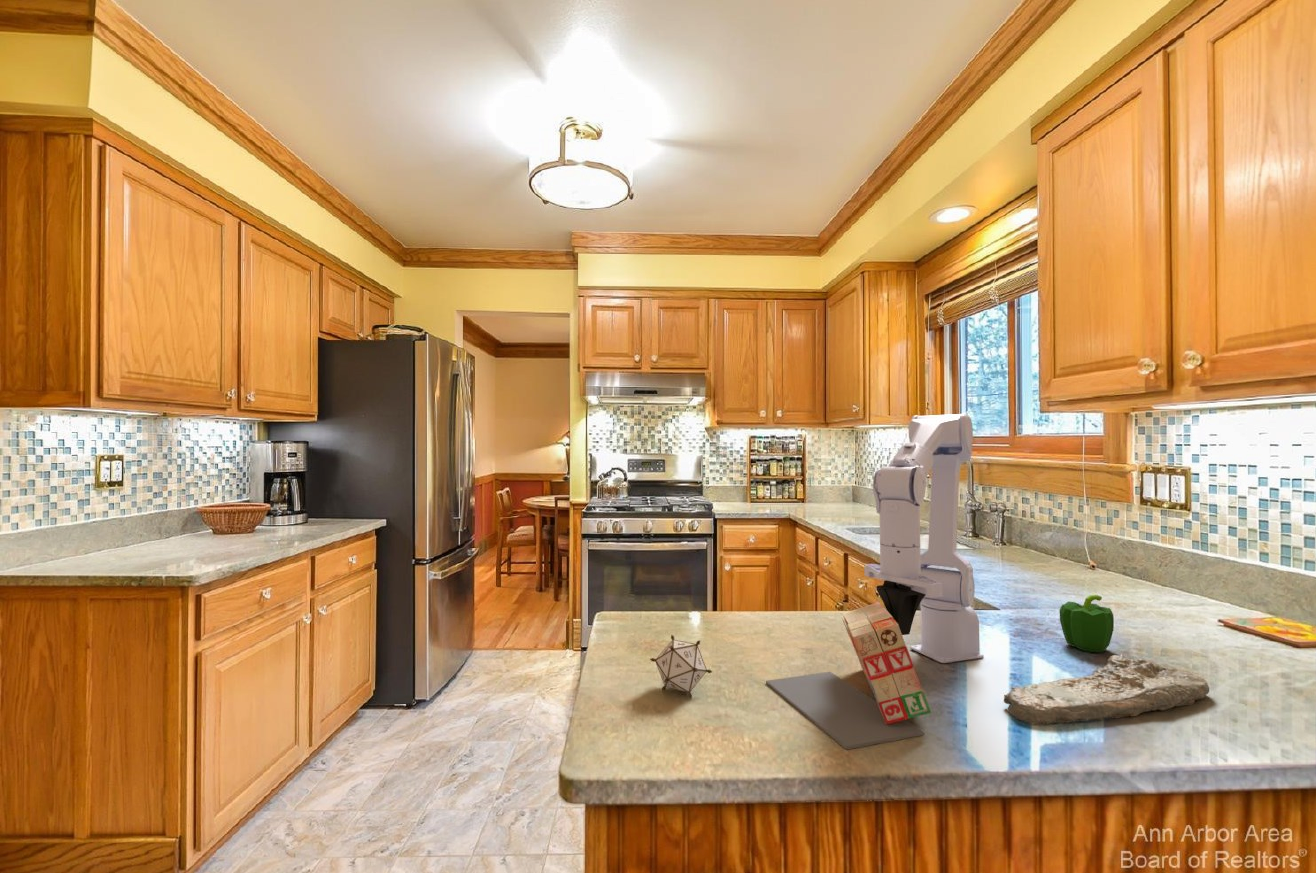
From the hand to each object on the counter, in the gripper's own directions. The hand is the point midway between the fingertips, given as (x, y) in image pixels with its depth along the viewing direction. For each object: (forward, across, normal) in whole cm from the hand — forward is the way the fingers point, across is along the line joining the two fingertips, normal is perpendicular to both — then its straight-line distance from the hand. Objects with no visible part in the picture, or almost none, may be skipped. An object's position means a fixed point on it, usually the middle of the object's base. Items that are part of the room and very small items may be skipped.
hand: (901, 633), depth 86 cm
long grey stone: (+10, +11, +27) cm, 31 cm away
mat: (+10, 0, -12) cm, 15 cm away
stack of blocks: (+8, 0, -2) cm, 8 cm away
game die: (+10, -12, -32) cm, 35 cm away
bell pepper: (+10, -6, +48) cm, 49 cm away
